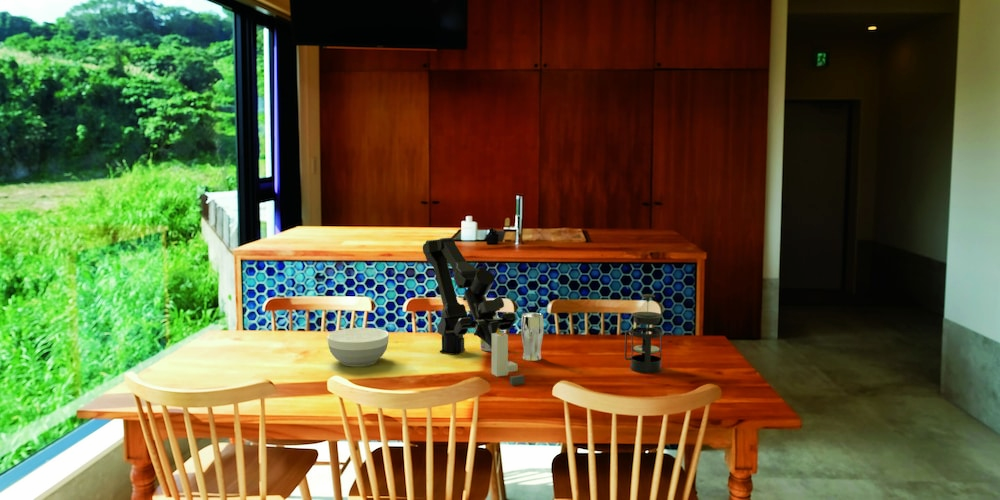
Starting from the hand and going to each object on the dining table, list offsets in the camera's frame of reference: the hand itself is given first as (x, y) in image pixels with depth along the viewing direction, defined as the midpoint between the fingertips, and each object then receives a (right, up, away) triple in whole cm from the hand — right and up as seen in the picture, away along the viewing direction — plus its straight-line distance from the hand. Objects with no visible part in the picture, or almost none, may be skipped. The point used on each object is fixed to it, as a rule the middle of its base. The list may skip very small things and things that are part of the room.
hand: (494, 347), depth 245 cm
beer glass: (+12, -6, +16) cm, 21 cm away
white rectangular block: (+1, -8, -2) cm, 8 cm away
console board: (+2, -9, -3) cm, 10 cm away
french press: (+45, -8, +8) cm, 47 cm away
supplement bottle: (-2, -4, +30) cm, 31 cm away
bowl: (-43, -6, +15) cm, 46 cm away
